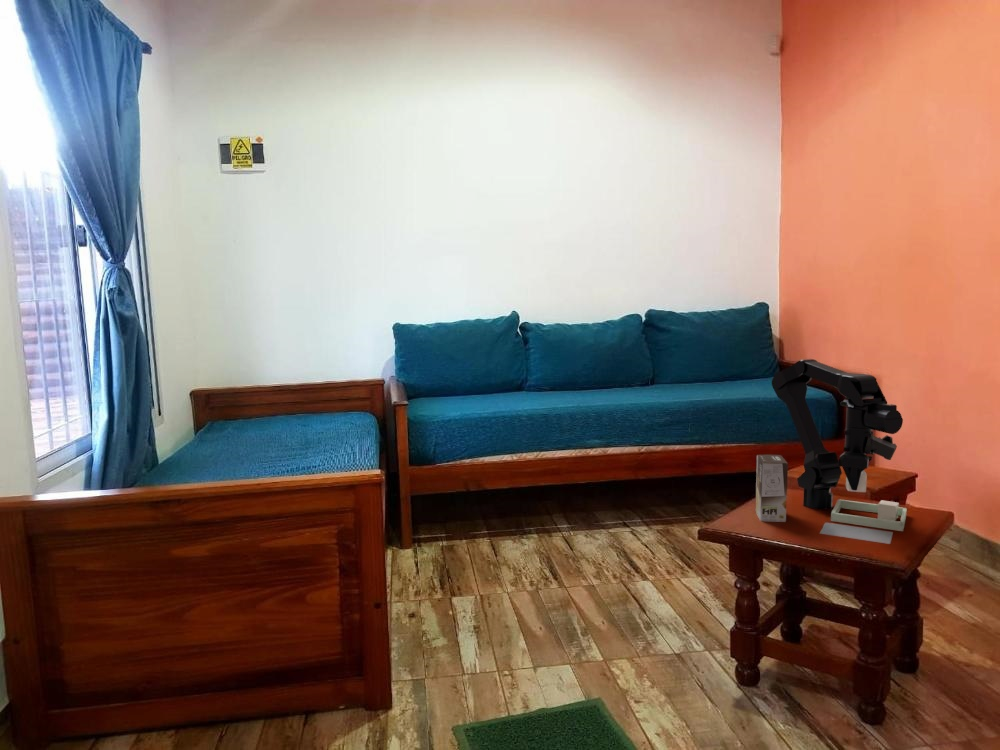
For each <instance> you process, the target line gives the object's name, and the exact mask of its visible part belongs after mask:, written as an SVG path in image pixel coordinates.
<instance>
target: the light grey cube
mask: <svg viewBox="0 0 1000 750" xmlns="http://www.w3.org/2000/svg"><path fill="white" fill-rule="evenodd" d="M877 504H878V513H877V519H885V520H892V521H897V519H898V518H899V516H898V509H899V507H900V503H899V502H897V501H896V502H895V501H889V500H882V499H881V500H880V501H879V502H878V503H877Z"/></svg>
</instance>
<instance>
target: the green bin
mask: <svg viewBox="0 0 1000 750" xmlns="http://www.w3.org/2000/svg"><path fill="white" fill-rule="evenodd" d="M878 504H879V503H871V502H862V501H856V500H855V501H854V500H846V499H840V498H838V499H837V500H836V503H835V505H834V506H833V509H831V513H830V521H831V522H836V523H840V524H841V523H842V524H849V525H850V524H851V525H857V526H861V527H862V526H864V527H870V528H877V529H884V530H892V531H898V532H904V528H905V524H906V519H907V513H908V511H907V509H908V508H907V507H902V506H901V507H900V506H899V509H898V517H900V521H897V520H896V521H892V520H885V519H878V517H877V518H875V517H868V516H862V515H853V514H847V513H842V512H841V513H840V511H841V509H846V510H852V511H859V512H860V511H861V512H867V513H868V512H869V513H874V514H875V513H876V514H878Z"/></svg>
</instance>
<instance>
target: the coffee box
mask: <svg viewBox="0 0 1000 750" xmlns="http://www.w3.org/2000/svg"><path fill="white" fill-rule="evenodd" d="M788 468H789V463H788V462H787V460H786V459H785V458H784V457H783V456H782V455H781V454H757V455H756V470H755V471H756V473H755V474H756V475H755V477H756V479H755V481H756V482H755V512H756V513H755V514H756V516H757V517H758V519H759V521H760V522H773V523H775V522H776V523H777V522H779V523H780V522H781V523H786V522H787V500H788Z"/></svg>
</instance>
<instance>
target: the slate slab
mask: <svg viewBox="0 0 1000 750" xmlns="http://www.w3.org/2000/svg"><path fill="white" fill-rule="evenodd" d="M819 534H820V535H827V536H832V537H833V536H834V537H841V538H846V539H847V538H848V539H852V540H853V539H854V540H859V541H866V542H874V543H881V544H886V545H890V544H892V543H891V542H892V538H893V534H894V532H893V531H888V530H887V531H886V530H881V529H875V528H867V527H862V526H853V525H846V524H841V523H840V524H839V523H838V524H837V523H832V522H826V521H825V522H824V524H823V526H822V528H821V529H820V532H819Z"/></svg>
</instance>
